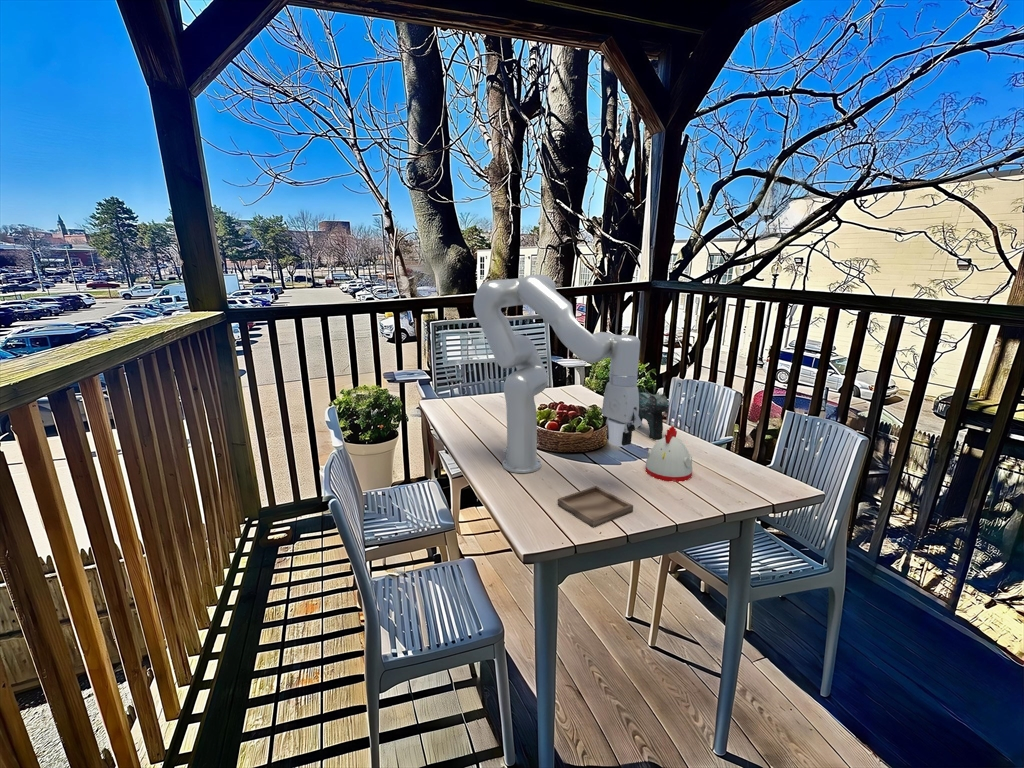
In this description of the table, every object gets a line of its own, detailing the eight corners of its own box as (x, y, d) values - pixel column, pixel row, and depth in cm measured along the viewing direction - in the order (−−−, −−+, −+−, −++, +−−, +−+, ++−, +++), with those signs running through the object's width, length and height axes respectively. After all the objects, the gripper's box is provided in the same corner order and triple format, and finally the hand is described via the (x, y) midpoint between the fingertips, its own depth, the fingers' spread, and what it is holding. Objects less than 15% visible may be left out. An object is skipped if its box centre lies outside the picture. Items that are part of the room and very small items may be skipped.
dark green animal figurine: (667, 440, 176) (671, 388, 171) (651, 442, 175) (654, 389, 170) (640, 424, 195) (643, 376, 190) (625, 425, 193) (628, 377, 189)
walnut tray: (557, 504, 129) (557, 498, 129) (595, 491, 137) (595, 485, 136) (593, 527, 118) (593, 521, 117) (632, 511, 125) (633, 505, 125)
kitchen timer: (638, 474, 148) (641, 428, 145) (654, 460, 159) (657, 417, 155) (683, 486, 140) (687, 438, 136) (697, 470, 151) (701, 425, 147)
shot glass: (615, 448, 133) (617, 425, 131) (601, 440, 139) (603, 417, 137) (635, 445, 135) (637, 422, 134) (621, 437, 142) (623, 415, 140)
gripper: (592, 375, 137) (588, 434, 142) (637, 388, 124) (632, 453, 128) (610, 372, 142) (606, 430, 146) (656, 385, 128) (650, 448, 132)
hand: (618, 440), depth 137 cm, fingers closed on shot glass, 5 cm apart
